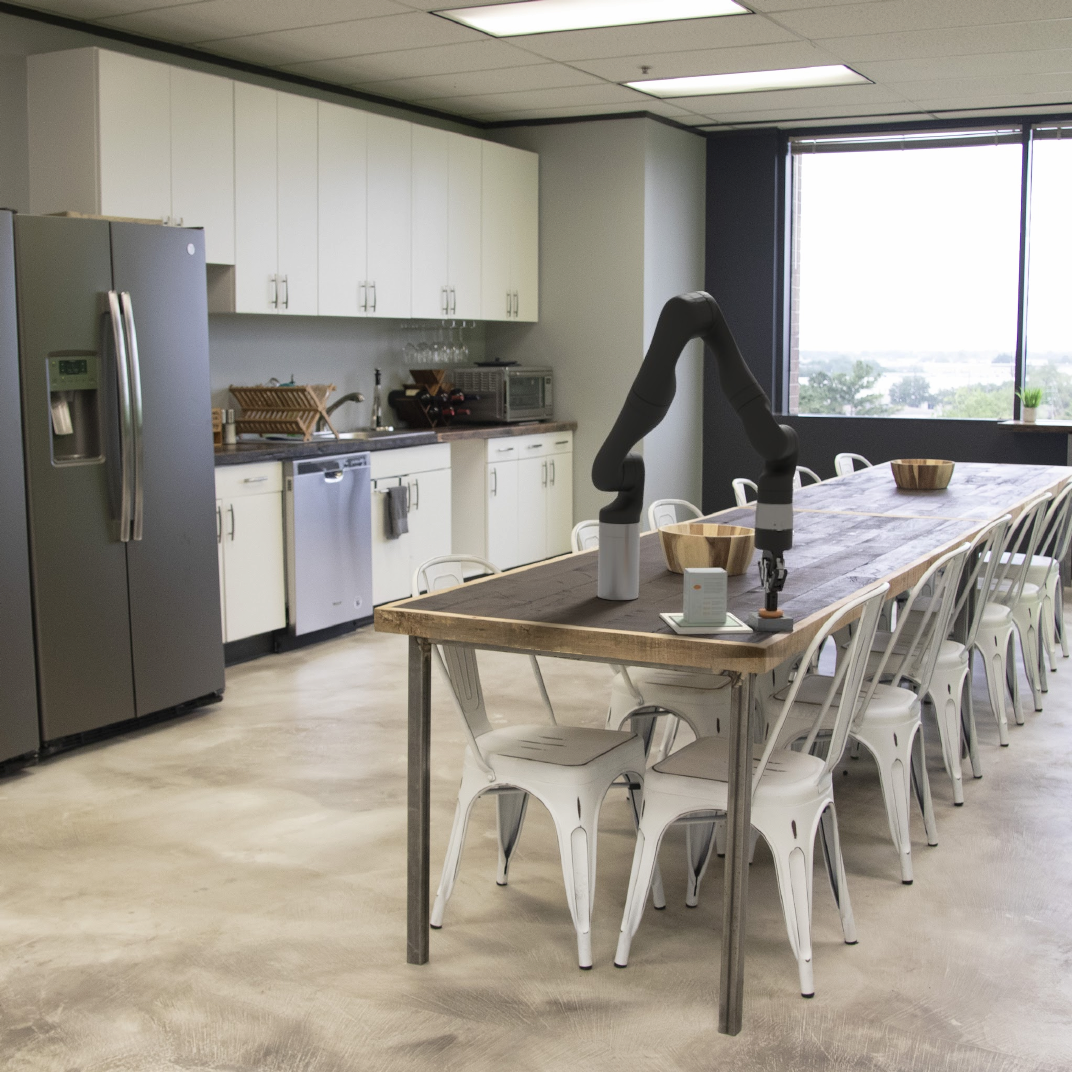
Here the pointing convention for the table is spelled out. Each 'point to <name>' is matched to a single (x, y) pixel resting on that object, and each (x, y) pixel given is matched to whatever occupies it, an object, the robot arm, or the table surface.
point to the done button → (770, 613)
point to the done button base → (770, 622)
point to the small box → (705, 595)
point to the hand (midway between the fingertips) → (770, 610)
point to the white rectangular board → (705, 625)
